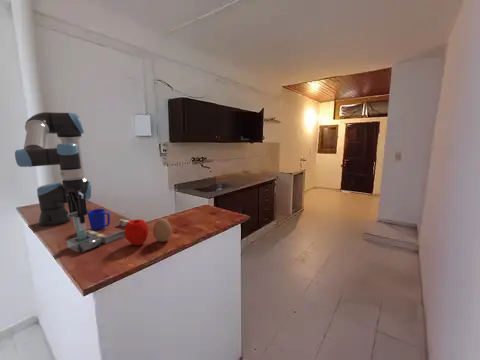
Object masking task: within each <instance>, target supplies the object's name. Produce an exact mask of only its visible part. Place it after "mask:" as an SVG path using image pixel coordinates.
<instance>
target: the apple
mask: <svg viewBox="0 0 480 360" xmlns="http://www.w3.org/2000/svg"><path fill="white" fill-rule="evenodd" d="M128 221H129V222H128V223H127V224H126V226H124V230H125V231H124V235H125V239H126V241H127V242H129V243H130V244H131V245H132V246H141V245H143V244H144V243H146V240H147V238H148V234H149V226H148V224H147V222H146V221H145V220H144V219H140V218H139V219H133V220H128Z"/></svg>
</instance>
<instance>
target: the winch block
mask: <svg viewBox="0 0 480 360" xmlns="http://www.w3.org/2000/svg"><path fill="white" fill-rule="evenodd" d="M86 237H87V239H86V240H83V241H78V238H77V236H75V237H73V238H70V239H67V240H66V246H67V248H68V249H69V250H72V251H74V252H76V253H79V252H82V253H85V252H87V251H89V250H92V249H95V248H97V247H99V246H101V244H102V242H100V239H99V238H98V237H96V236H94V235H91V234H88V233H87V234H86Z"/></svg>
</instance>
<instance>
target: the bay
mask: <svg viewBox="0 0 480 360" xmlns="http://www.w3.org/2000/svg"><path fill="white" fill-rule="evenodd" d="M129 221H130V220H128V219H124V218H120V219H119V220H118V223H119V226H122V227H125V226H126V224H127V223H128V222H129ZM85 231H86V234H87V233H88V234H91V235H94V236H96V237H98V238H99V239H100V242H101V244H105V245H106V244H110V243H113V242H115V241H118V240H120V239H122V238H124V237H125V235H124V231H125V229H123V230H119V231H117V232H113V233H111V234H109V235H106V234H103V233H100V232H97V231H95V230H92V229H88V230H87V229H86V230H85ZM125 238H126V237H125Z"/></svg>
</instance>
